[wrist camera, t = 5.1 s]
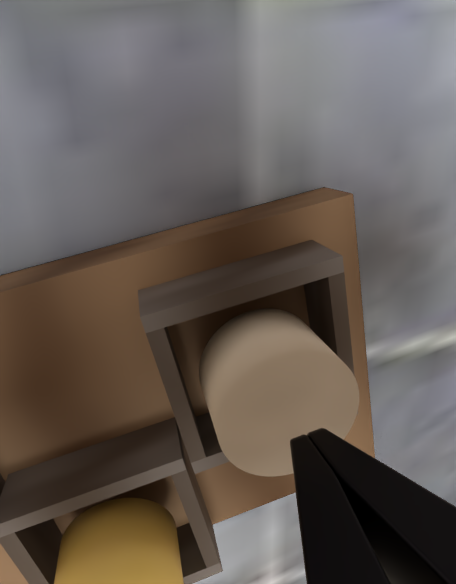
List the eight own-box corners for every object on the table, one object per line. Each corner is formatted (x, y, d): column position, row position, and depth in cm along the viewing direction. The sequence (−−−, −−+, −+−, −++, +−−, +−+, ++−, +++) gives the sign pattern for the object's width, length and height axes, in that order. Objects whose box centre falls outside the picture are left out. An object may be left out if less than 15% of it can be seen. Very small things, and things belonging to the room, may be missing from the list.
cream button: (308, 293, 11) (353, 329, 9) (322, 393, 13) (364, 446, 11) (184, 331, 11) (199, 380, 9) (214, 431, 12) (234, 496, 10)
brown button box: (324, 187, 14) (391, 202, 11) (351, 431, 19) (404, 498, 15) (-332, 366, 11) (-546, 471, 8) (-104, 600, 16) (-170, 733, 13)
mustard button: (159, 481, 13) (166, 555, 10) (188, 554, 14) (200, 632, 12) (40, 525, 12) (21, 613, 10) (84, 595, 14) (76, 685, 11)
